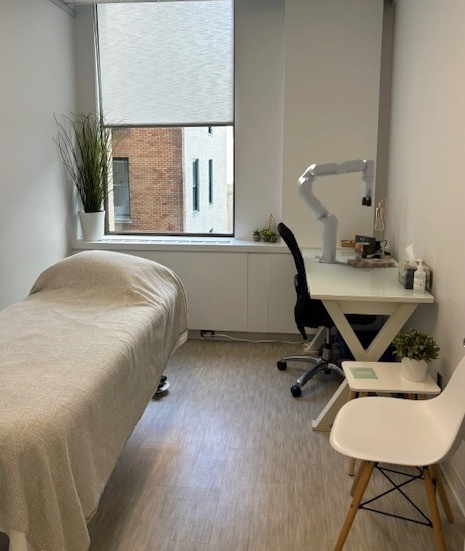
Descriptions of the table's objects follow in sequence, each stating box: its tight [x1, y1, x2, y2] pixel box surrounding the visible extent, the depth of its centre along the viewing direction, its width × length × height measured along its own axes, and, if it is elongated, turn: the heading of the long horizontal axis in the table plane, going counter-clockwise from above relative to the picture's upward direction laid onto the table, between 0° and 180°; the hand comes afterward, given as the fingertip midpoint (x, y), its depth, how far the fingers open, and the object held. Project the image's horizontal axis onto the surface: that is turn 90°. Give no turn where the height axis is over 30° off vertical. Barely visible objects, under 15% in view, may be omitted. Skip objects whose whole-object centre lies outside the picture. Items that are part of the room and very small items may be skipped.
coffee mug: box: [355, 242, 375, 259], centre depth 371 cm, size 12×9×10 cm
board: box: [346, 258, 396, 268], centre depth 344 cm, size 26×16×3 cm, turn 93°
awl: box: [354, 243, 363, 262], centre depth 342 cm, size 5×5×11 cm
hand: (366, 205), depth 351 cm, fingers open, 9 cm apart
